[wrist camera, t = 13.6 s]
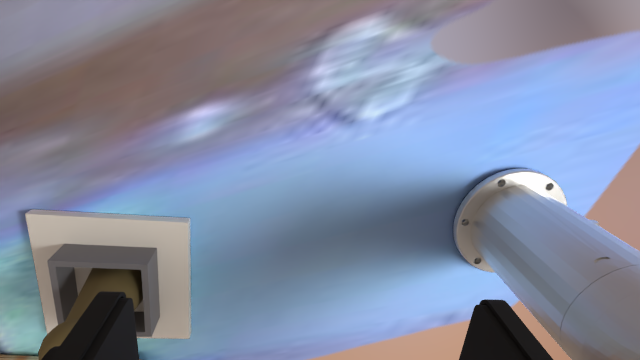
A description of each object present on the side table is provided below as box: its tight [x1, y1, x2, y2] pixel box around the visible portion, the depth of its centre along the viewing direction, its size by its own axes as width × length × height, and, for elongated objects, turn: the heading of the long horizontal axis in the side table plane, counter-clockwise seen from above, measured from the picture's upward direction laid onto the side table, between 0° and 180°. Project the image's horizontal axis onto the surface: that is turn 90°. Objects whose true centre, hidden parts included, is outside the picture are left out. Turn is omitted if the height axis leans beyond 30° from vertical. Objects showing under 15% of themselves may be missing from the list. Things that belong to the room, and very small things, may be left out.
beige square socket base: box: [25, 209, 191, 339], centre depth 39 cm, size 15×15×4 cm
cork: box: [38, 268, 143, 360], centre depth 35 cm, size 6×6×11 cm
